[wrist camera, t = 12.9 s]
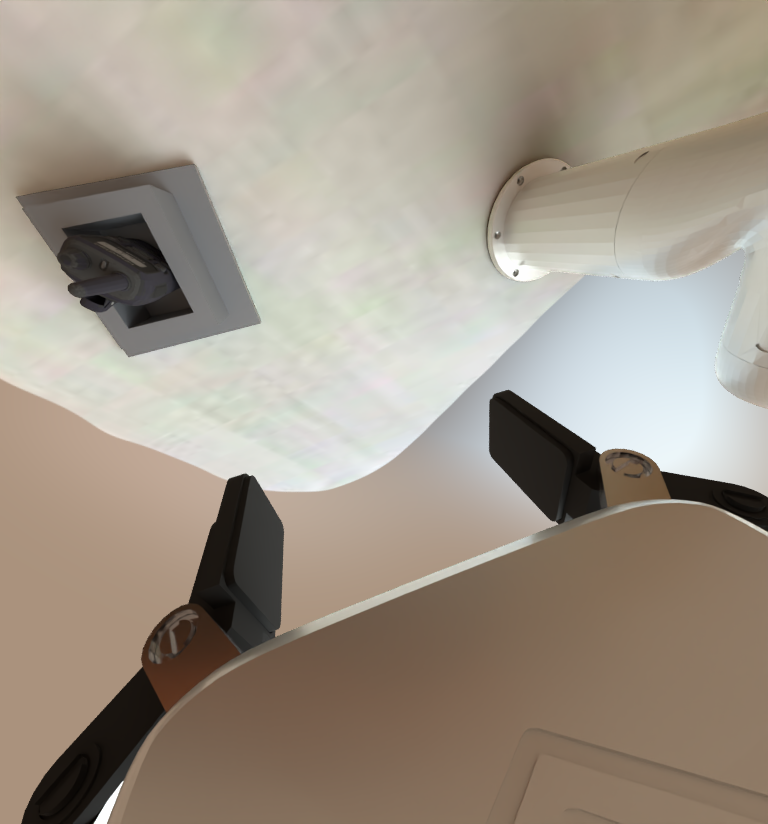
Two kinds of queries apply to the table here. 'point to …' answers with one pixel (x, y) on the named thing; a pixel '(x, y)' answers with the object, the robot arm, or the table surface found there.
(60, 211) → the charging dock
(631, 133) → the table surface
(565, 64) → the table surface
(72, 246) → the two-way radio
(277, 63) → the table surface
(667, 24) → the table surface
